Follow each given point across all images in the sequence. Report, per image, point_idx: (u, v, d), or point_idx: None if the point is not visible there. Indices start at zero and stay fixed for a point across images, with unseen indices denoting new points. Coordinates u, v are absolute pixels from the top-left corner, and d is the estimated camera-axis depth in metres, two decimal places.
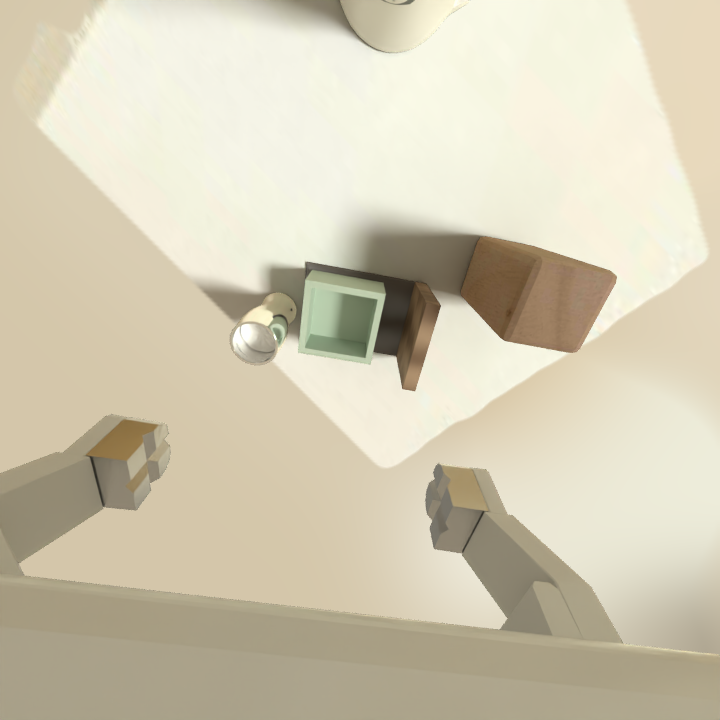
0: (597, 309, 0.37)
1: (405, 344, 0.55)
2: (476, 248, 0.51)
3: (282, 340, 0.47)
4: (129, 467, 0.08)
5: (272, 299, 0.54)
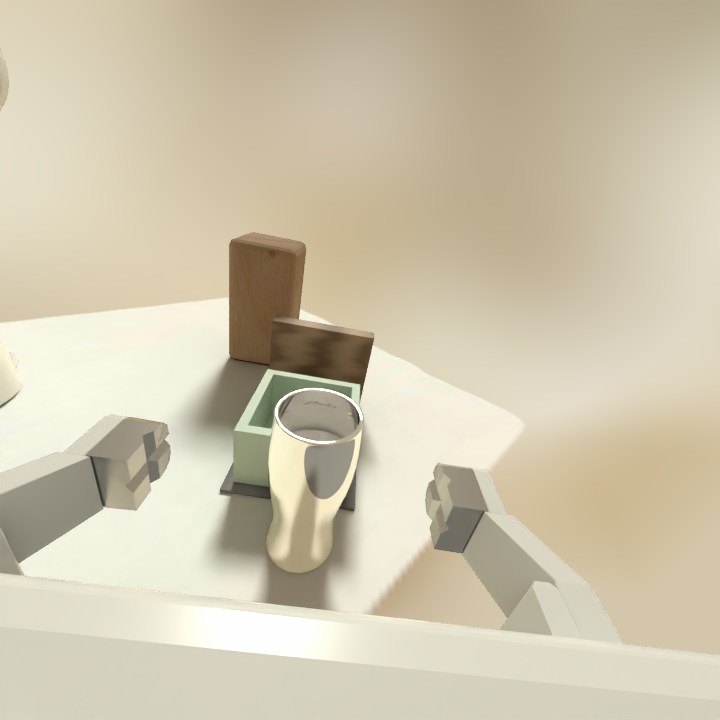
0: (272, 236, 0.56)
1: (332, 371, 0.48)
2: (238, 353, 0.56)
3: None
4: (129, 467, 0.08)
5: (272, 521, 0.29)
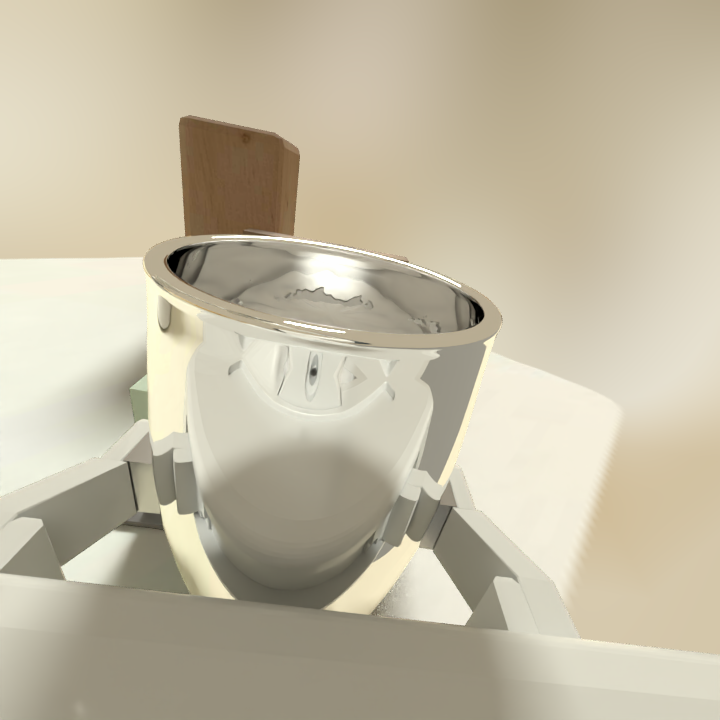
0: None
1: None
2: None
3: None
4: None
5: None
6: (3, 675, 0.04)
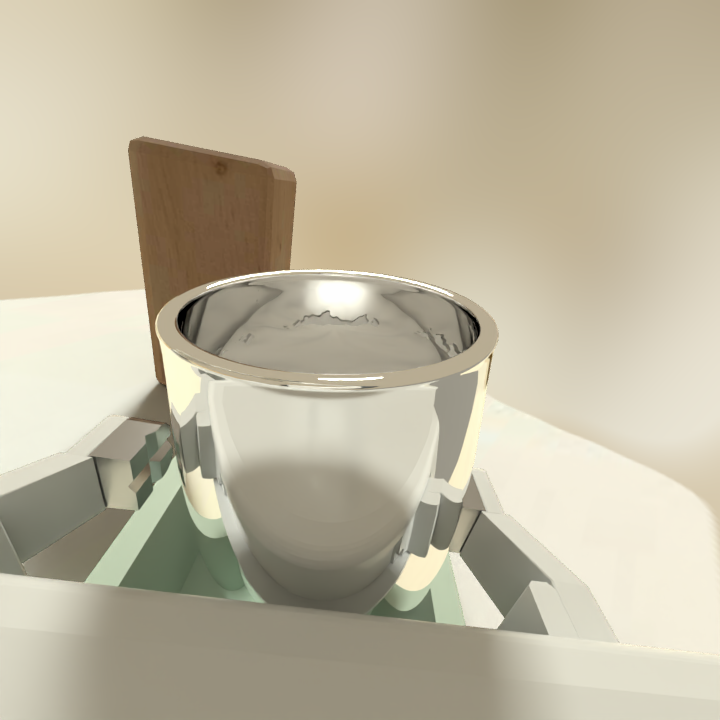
0: None
1: None
2: None
3: (338, 337, 0.11)
4: (132, 467, 0.08)
5: None
6: (3, 675, 0.04)
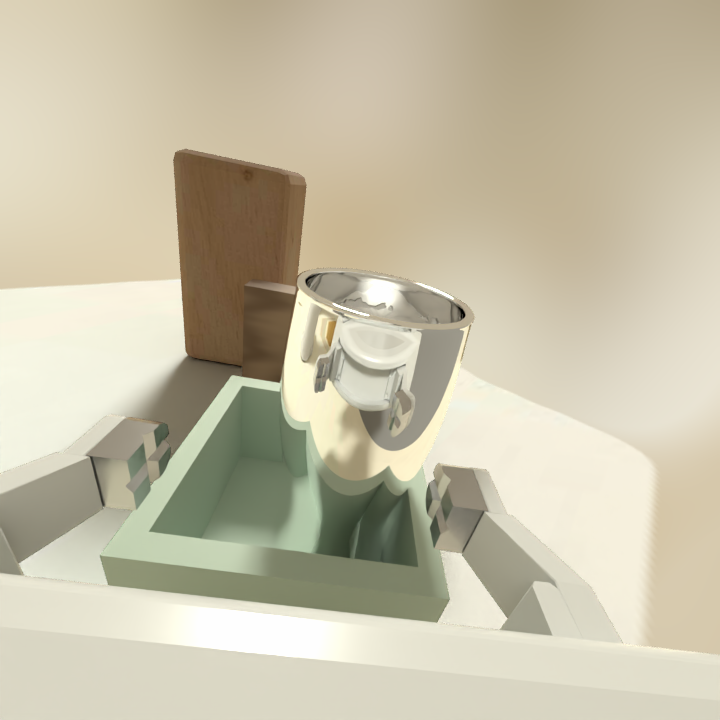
0: None
1: None
2: (199, 348, 0.35)
3: None
4: (129, 467, 0.08)
5: (284, 517, 0.16)
6: (3, 675, 0.04)
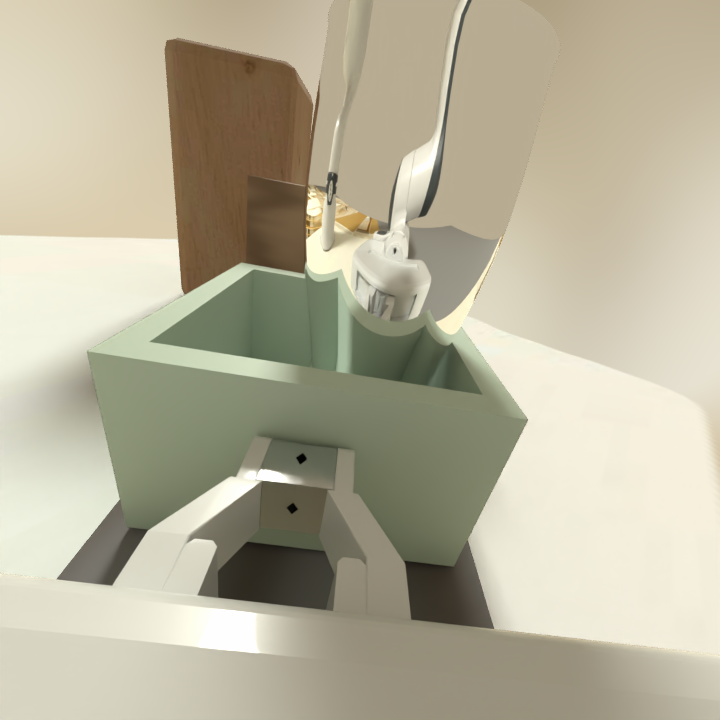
0: None
1: None
2: (197, 285, 0.32)
3: None
4: (294, 490, 0.08)
5: None
6: (3, 675, 0.04)
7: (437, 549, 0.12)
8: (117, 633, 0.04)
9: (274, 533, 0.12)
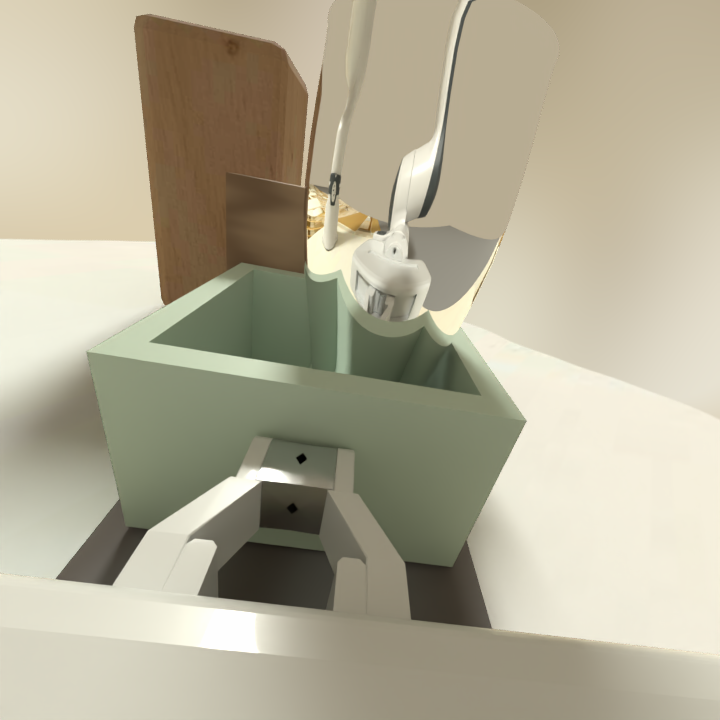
0: None
1: None
2: (178, 295, 0.29)
3: None
4: (294, 490, 0.08)
5: None
6: (3, 675, 0.04)
7: (436, 549, 0.12)
8: (117, 633, 0.04)
9: (273, 533, 0.12)
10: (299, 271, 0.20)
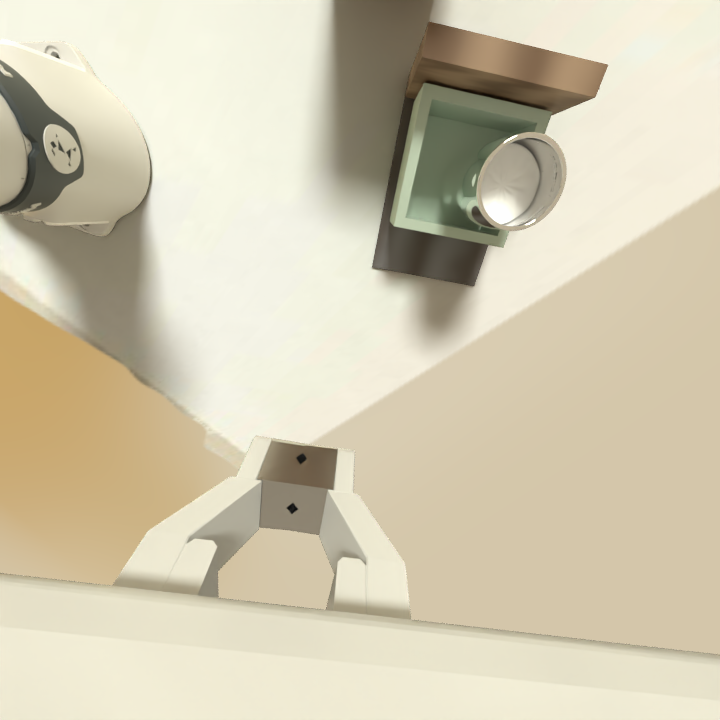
0: None
1: None
2: None
3: None
4: (295, 490, 0.08)
5: (449, 190, 0.36)
6: (3, 675, 0.04)
7: None
8: (117, 633, 0.04)
9: None
10: (461, 86, 0.29)
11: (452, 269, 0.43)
